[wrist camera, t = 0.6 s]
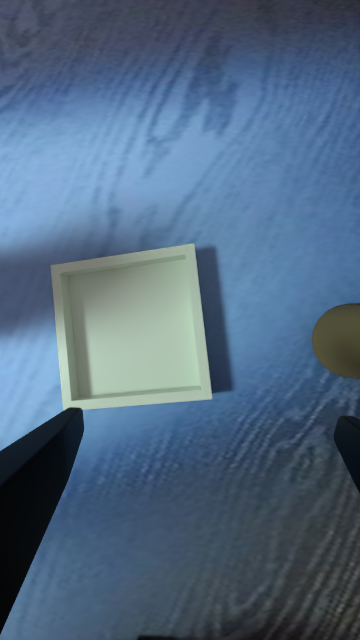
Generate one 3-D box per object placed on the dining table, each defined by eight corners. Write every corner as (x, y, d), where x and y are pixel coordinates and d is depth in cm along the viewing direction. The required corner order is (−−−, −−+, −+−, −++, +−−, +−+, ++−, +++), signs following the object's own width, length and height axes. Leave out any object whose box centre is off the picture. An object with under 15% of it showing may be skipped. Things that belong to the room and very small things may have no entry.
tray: (212, 393, 22) (212, 399, 20) (74, 404, 23) (63, 411, 22) (195, 250, 23) (194, 243, 21) (62, 269, 24) (50, 265, 22)
